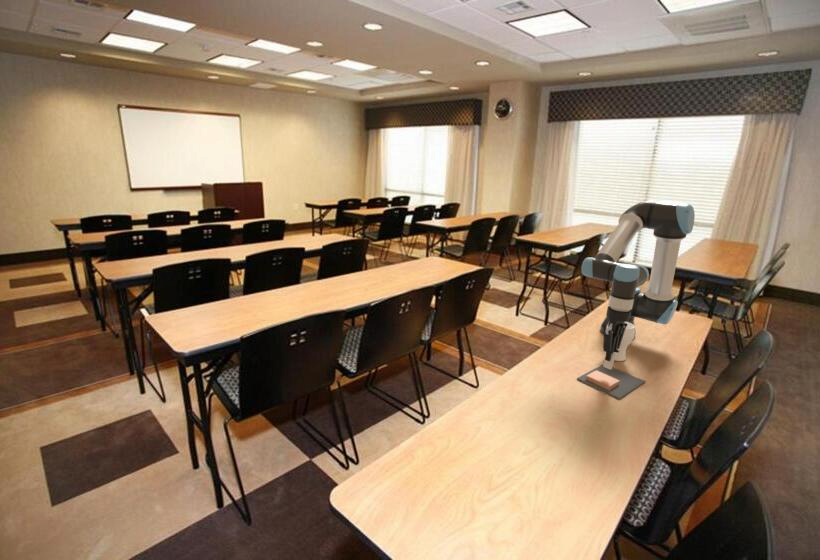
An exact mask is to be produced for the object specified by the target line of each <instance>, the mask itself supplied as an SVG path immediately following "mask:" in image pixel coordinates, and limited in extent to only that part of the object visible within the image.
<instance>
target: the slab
mask: <svg viewBox="0 0 820 560" xmlns="http://www.w3.org/2000/svg"><path fill="white" fill-rule="evenodd" d="M586 380H588V381H591V382H593V383H595V384H597V385H599V386H601V387H603V388H605V389H608V390H611V389H612V388H614V387H616V386H617V385H619V382H620V380H617V379H615V378H613V377H611V376H608V375H606V374H604V373H601V372H599V371H597V370H596V371H594V372H592V373H590V374H588V375H587V376H586Z"/></svg>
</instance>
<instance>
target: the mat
mask: <svg viewBox="0 0 820 560" xmlns="http://www.w3.org/2000/svg"><path fill="white" fill-rule="evenodd" d="M603 365H604V363H603V364H601V365H598V366H597V367H595V368H593V369H592V370H589V371H588V372H586V373H584V374H582V375H579V376H578V377H577V378H576V380H577V381H579V382H581V383H583V384H585V385H587V386H590V387H592V388H594V389H595V390H597V391H600V392H602V393H604V394H607V395H609V396H611V397H612V398H615V399H617V400H621V399H622V398H624V397H625V396H627V395H629V394H630V393H631V392H633V391H634V390H636V389H638V388H639V387H640V386H642V385H644V384H646V380H644V379H642V378H640V377H637V376H635V375H632V374H630V373H627V372H625V371H623V370H620V369H618V368H615V367H612V369H611V370H610V369H607V368H605V367H603ZM596 370H597V371H599V372H601V373H604V374H606V375H608V376H611V377H613V378H615V379H617V380H620V382H619V385H617V386H616V387H614V388H612V389H611V390H608V389H605V388H603V387H601V386H599V385H597V384H595V383H593V382H591V381H588V380H586V376H587V375H588V374H590V373H592V372H594V371H596Z"/></svg>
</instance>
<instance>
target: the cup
mask: <svg viewBox="0 0 820 560" xmlns="http://www.w3.org/2000/svg"><path fill="white" fill-rule="evenodd" d="M625 323H627V327H626V329H625V332H624V335H623V338H622V341H621V345H620V348H619V349H617V350H618V351H619V352H618V353H617V352H615V358H614V361H616V362H624V361H625V360H626V353H627V352H626V351H627V349H628V346H630V344H631V343H632V342H633V340H634V338H635V337H634V335H635V336H636V334H635V331H636V325H635V326H634V325H633V324H631V323H629V322H625ZM607 328H608V325H607ZM607 328H606V329H607ZM605 354H606V352H605ZM605 354H604V355H605Z"/></svg>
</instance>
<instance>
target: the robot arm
mask: <svg viewBox="0 0 820 560" xmlns="http://www.w3.org/2000/svg"><path fill="white" fill-rule="evenodd" d="M695 217H696V216H695V209H694V207H693V205H692V204H689V203H682V202H676V201H675V202H674V201H664V200H663V201H660V200H653V199H652V200H650V199H649V200H644V201H640V202H639V203H636V204H634V205H631V206H630V207H629V208H627V210H624V212H622V214H621V215H620V217H619V218H618V224H617V225H616V226H615V229H614V230H613V231H612V232H611V234H610V235H609V237H608V238H607V240H606V241H605V243H604V244H603V245H602V247H601V248H600V249H599V251H598V252H597V254H595V256H594V257H589V256H588V257H585V258H584V260H583V261H582V264H581V269H580V270H581V274H582V275H583V276H585V277H587V278H591V279H595V280H596V279H597V280H600V281H606V282H609V283H612V284H611V288H610V294H609V296H608V306H607V310H606V314H605V318H604V320H603V321H602V323H601V324H600V329H599V330H600V332H601V333H602V334H603V345H602V347H603V348H602V350H603V352H605V353H606V354H604V355H605V356H604V360H603V364H604V365H603V364H602V365H603V367H605V368H607V369H610V370H611V369H612V367H613V366H614V361H615V360H614V358H615V352H617V353H618V352H619V351H618V350H617V349H619V348H620V345H621V341H622V338H623V335H624V332H625V329H626V327H627V323H625V322H629V323H631V324H633V325H634V326H635V327H636V325H635V318H639V319H642V320H645V321H648V322H653V323H655V324H661V325H667V324H668V323H670V321H671V320H672V318H673V316H674V314H675V312H676V309H677V307H678V304H679V301H678V300H676V299H675V294H674V293H673V292H672V288H673V283H674V277H675V272H676V268H677V264H678V263H677V262H678V258H679V251H680V246H681V242H682V240H684V239H685V238H687V235H690V234H691V233H692V231H693V230H694V225H695ZM643 229H649V230H653V232H652V233H653V236H654V237H655V239H656V241H655V245H654V246H655V247H654V252H653V259H652V266H651V269H650V270H651V271H650V273H649V270H648V268H647V267H646V266H645V265H642V264H630V263H621V262H618V260H619V258H620V257H621V255H622V254H623V252H624V251H625V250H626V249H627V247H628V245H629V243H630V242H631V241H632V239H633V238H634V237H635V235H636V233H639V232H640V231H641V230H643ZM648 279H649V283H648V288H647V289H645V290H644V291H643V292H641V288H640V287H641V286H643V285H644V284H645V283H647V281H648ZM607 325H608V328H607ZM606 328H607V329H606ZM636 333H637V331H636V330H635V335H634V338H635V337H636Z"/></svg>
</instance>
